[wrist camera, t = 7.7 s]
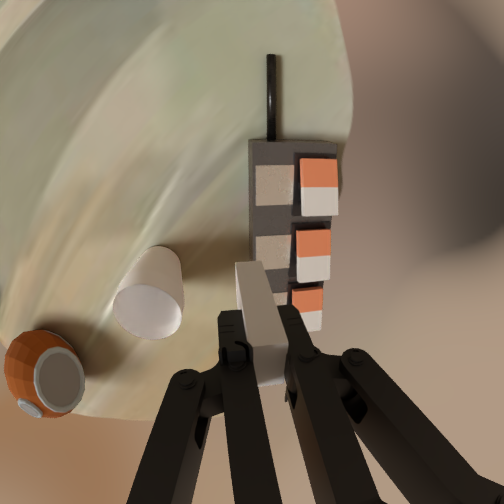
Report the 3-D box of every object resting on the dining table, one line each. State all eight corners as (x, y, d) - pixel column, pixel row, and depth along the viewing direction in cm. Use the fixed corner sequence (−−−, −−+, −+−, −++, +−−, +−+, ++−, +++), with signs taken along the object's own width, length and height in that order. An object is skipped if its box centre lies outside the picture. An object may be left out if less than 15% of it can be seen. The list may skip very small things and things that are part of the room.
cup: (178, 231, 40) (167, 275, 30) (195, 282, 45) (192, 334, 34) (124, 246, 40) (99, 291, 30) (144, 293, 44) (130, 344, 34)
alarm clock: (104, 374, 53) (89, 438, 38) (54, 378, 53) (36, 432, 37) (56, 310, 44) (22, 377, 28) (9, 322, 44) (-23, 376, 28)
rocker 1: (299, 159, 33) (302, 158, 32) (333, 160, 34) (336, 159, 32) (301, 215, 35) (304, 216, 33) (334, 214, 35) (338, 215, 34)
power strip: (247, 55, 30) (252, 46, 26) (326, 61, 31) (341, 55, 27) (250, 318, 49) (254, 337, 45) (309, 311, 51) (318, 330, 46)
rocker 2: (296, 230, 38) (298, 231, 36) (327, 228, 38) (330, 229, 37) (296, 280, 39) (299, 283, 38) (326, 277, 39) (330, 279, 38)
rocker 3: (292, 289, 42) (294, 291, 41) (320, 286, 42) (323, 288, 41) (291, 330, 43) (293, 333, 42) (318, 326, 44) (320, 329, 43)
